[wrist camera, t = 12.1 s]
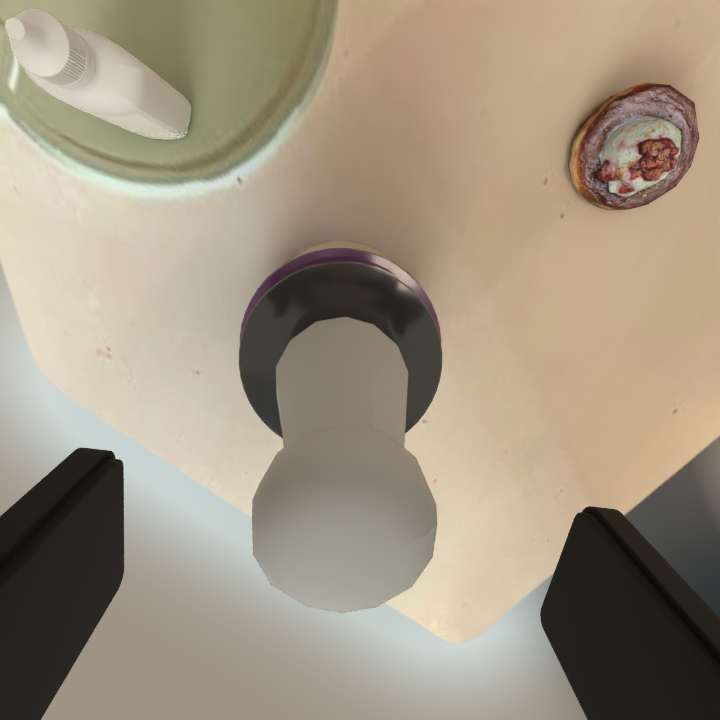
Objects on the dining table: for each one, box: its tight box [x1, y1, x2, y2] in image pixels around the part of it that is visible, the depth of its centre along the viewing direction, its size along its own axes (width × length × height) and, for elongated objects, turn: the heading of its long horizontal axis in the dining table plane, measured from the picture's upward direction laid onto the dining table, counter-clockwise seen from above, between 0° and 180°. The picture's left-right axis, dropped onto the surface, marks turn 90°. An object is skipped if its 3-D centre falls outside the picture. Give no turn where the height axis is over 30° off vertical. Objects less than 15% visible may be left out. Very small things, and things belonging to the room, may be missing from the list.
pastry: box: [568, 83, 699, 210], centre depth 28 cm, size 8×8×5 cm
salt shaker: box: [252, 317, 437, 613], centre depth 15 cm, size 6×6×13 cm
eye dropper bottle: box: [5, 9, 191, 140], centre depth 22 cm, size 4×6×12 cm
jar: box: [239, 241, 442, 438], centre depth 27 cm, size 11×11×12 cm
